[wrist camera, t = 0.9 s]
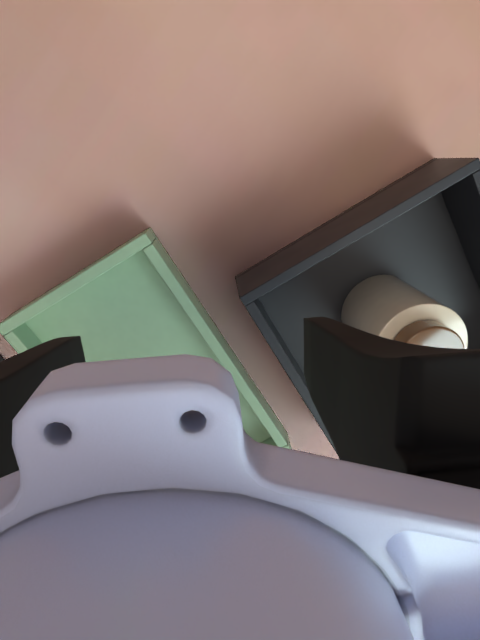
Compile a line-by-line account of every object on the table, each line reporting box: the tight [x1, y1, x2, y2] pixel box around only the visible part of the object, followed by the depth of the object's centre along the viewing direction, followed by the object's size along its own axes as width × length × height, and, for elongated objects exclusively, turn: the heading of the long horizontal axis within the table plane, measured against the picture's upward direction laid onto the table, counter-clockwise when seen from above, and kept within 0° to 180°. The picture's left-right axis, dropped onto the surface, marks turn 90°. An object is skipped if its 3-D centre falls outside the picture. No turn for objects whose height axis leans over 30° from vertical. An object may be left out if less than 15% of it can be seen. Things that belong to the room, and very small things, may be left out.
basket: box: [235, 158, 480, 453], centre depth 23 cm, size 12×12×4 cm
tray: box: [0, 228, 291, 449], centre depth 24 cm, size 15×9×2 cm, turn 31°
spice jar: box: [341, 275, 468, 349], centre depth 21 cm, size 4×4×6 cm
